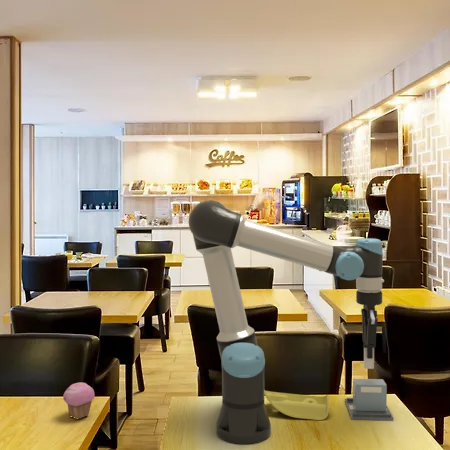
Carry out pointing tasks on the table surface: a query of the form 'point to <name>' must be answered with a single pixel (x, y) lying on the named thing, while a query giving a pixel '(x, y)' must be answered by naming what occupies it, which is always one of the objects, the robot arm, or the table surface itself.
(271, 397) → the plastic component
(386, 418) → the rail mount
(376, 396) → the block
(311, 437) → the table surface
